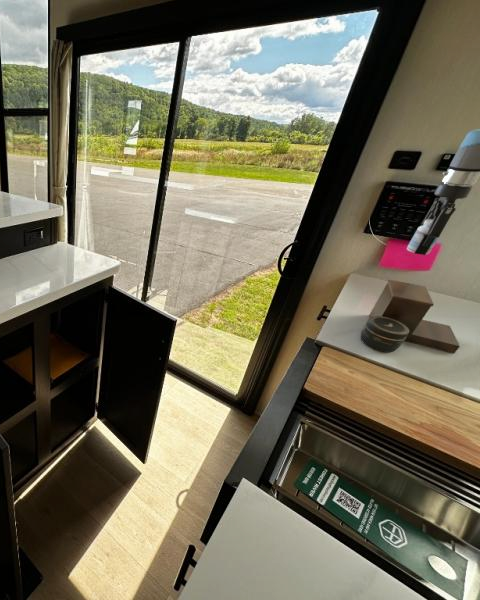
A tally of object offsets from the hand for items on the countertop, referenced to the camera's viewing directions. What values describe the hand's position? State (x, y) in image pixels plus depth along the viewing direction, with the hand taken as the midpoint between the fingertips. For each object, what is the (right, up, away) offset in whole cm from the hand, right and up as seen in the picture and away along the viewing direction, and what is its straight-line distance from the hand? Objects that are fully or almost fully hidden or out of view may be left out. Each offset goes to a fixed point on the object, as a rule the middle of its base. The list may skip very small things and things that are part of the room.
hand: (418, 250), depth 114 cm
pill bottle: (0, -1, 0) cm, 1 cm away
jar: (-25, -32, -11) cm, 42 cm away
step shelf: (-11, -29, -7) cm, 32 cm away
